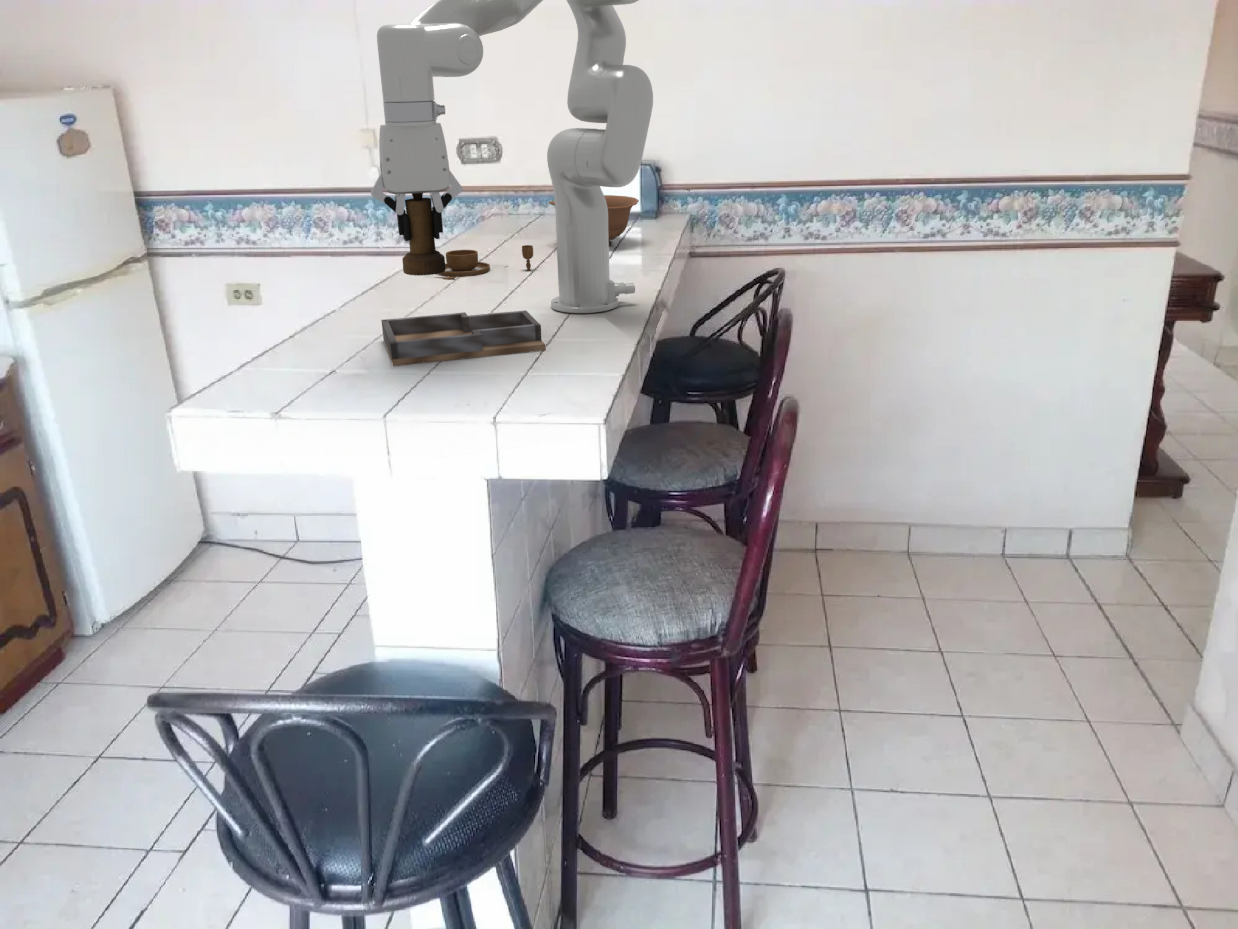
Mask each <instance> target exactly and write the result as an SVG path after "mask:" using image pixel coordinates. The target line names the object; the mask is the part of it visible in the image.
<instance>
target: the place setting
mask: <svg viewBox="0 0 1238 929" xmlns="http://www.w3.org/2000/svg"><path fill="white" fill-rule="evenodd" d="M521 254H522V257H523V259H524V260H525V261H526V264H525V268H526V270H525V271H526V272H529V271H530V272H531V271H532V270H531V266H532V265H531V259H532V258H533V257H534V246H533V245H531V244H527V245H522V246H521ZM445 267H446V270H452V271H446V270H445V271H444V272H442V273H439V274H438V276H435V277H434V278H435V279H442V280H447V281H449V280H455V279H456V278H464V277H474V276H480V275H484V274H487V273H488V272H490V269H491V265H490V263H488V262H481V261H479V254H478V251H477V250H474V249H454V250H449V251H446V252H445ZM507 267H508V265H507V266H505V268H507ZM476 268H480V269H476ZM474 269H475V270H474ZM448 276H449V277H448Z"/></svg>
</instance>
